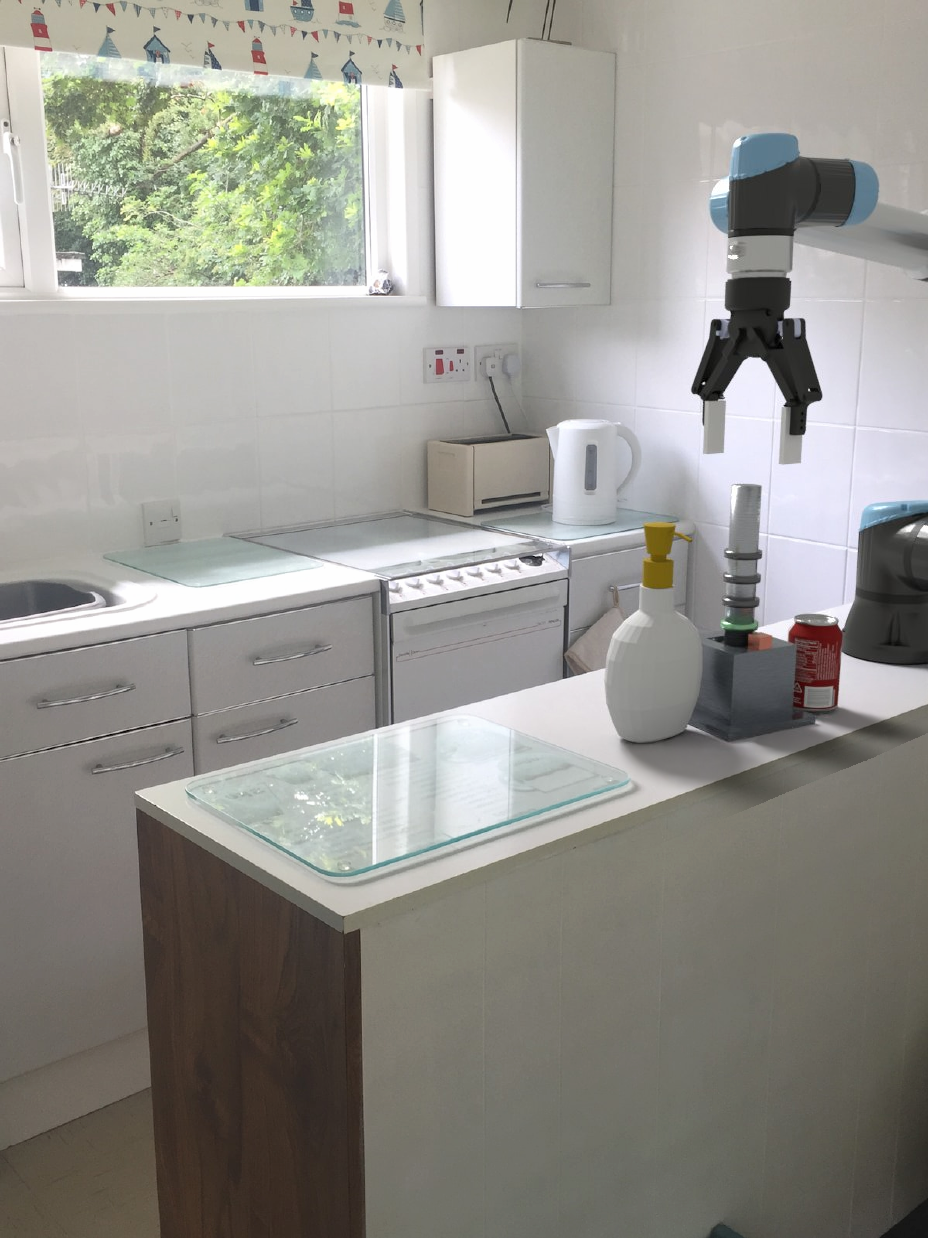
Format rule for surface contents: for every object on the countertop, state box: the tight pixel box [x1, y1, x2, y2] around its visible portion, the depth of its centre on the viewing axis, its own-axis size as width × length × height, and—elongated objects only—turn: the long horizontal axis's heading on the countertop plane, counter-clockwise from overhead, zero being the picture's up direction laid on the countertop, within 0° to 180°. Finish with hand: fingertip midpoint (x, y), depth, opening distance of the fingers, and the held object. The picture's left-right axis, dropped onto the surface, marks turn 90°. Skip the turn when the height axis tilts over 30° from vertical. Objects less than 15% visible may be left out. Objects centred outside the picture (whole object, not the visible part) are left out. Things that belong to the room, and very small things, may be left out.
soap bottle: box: [604, 521, 703, 744], centre depth 143 cm, size 14×9×26 cm, turn 127°
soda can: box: [786, 613, 843, 715], centre depth 156 cm, size 7×7×12 cm
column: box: [719, 483, 763, 648], centre depth 149 cm, size 5×5×21 cm
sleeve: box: [688, 629, 817, 742], centre depth 152 cm, size 14×14×12 cm
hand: (750, 458), depth 146 cm, fingers open, 13 cm apart
